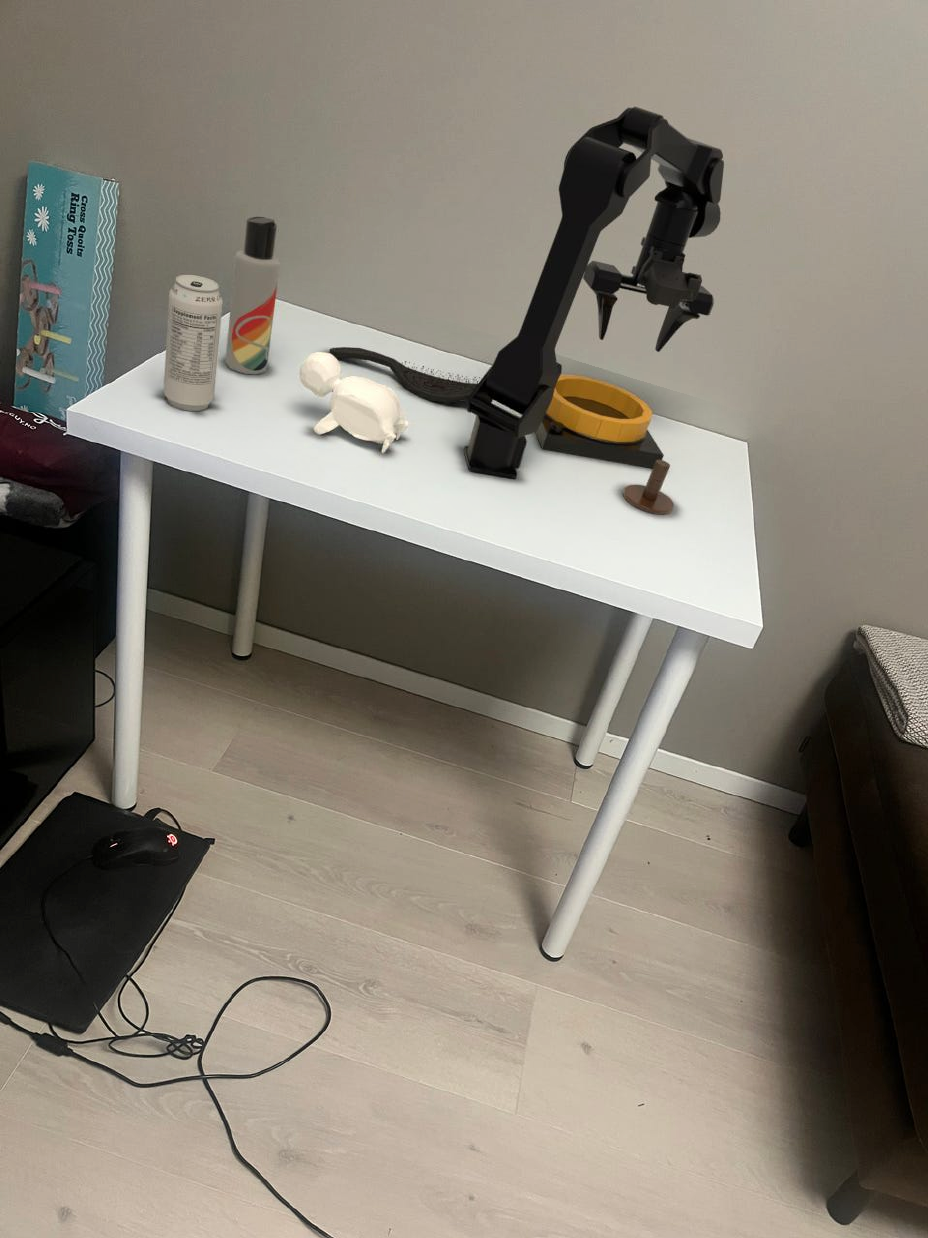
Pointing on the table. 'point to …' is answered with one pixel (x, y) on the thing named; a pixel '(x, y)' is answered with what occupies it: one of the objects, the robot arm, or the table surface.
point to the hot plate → (583, 445)
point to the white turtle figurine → (353, 401)
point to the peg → (651, 492)
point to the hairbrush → (414, 377)
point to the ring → (593, 422)
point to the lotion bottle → (253, 299)
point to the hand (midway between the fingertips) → (629, 344)
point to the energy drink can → (192, 342)
